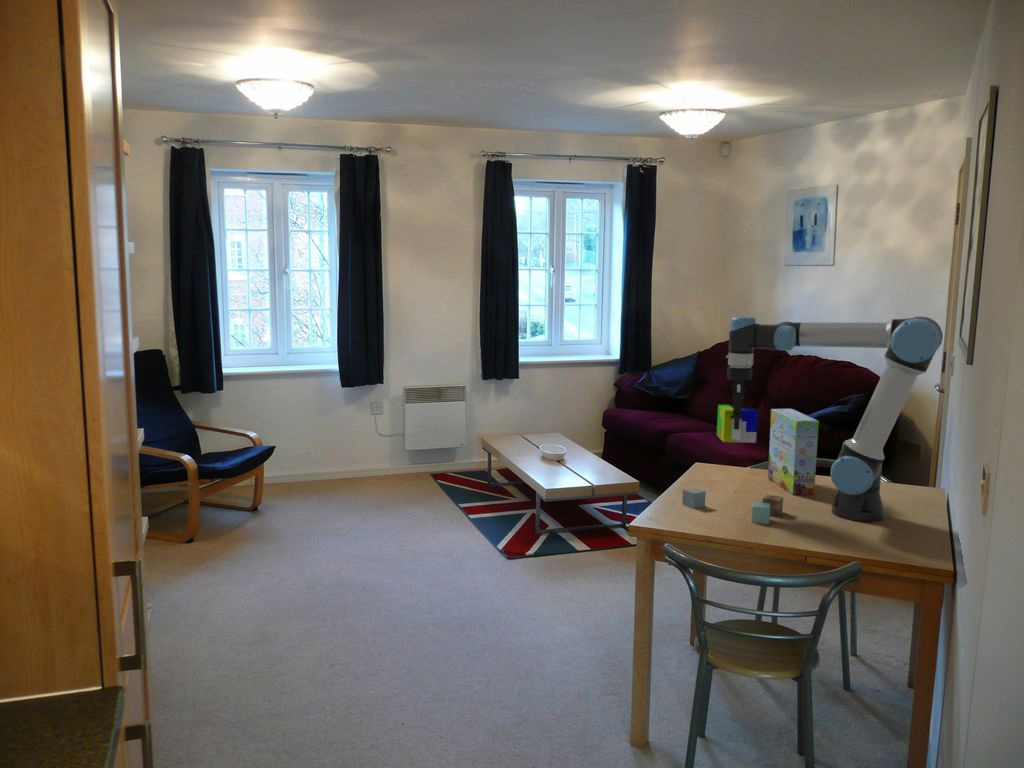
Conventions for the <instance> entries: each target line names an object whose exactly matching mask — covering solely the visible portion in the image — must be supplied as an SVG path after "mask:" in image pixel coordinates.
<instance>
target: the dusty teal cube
mask: <svg viewBox="0 0 1024 768" xmlns="http://www.w3.org/2000/svg"><path fill="white" fill-rule="evenodd" d="M770 516H771V515H770V503H763V502H755V501H753V502H752V510H751V523H753V524H754V523H755V524H764V525H769V524H770Z"/></svg>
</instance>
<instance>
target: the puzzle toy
mask: <svg viewBox="0 0 1024 768" xmlns="http://www.w3.org/2000/svg"><path fill="white" fill-rule="evenodd" d="M733 408H734V404H718V405H717V418H716V419H717V421H716V423H717V425H716V436H717V438H719V440H721V441H722V442H723V443H747V444H749V443H750V444H756V443H757V432H758V431H757V430H758V415H759V413H758V412H759V411H758V409H755V407H753V406H751V405H750V404H748V405H746V404H742V412H741V415H742V418H741V437H740V440H737V439H731V435H732V418H730V416H733Z"/></svg>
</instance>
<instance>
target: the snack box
mask: <svg viewBox="0 0 1024 768" xmlns="http://www.w3.org/2000/svg"><path fill="white" fill-rule="evenodd" d="M819 424H820V420H818V419H815V418H813V417H812V416H809V415H807V414H804V413H802V412H800V411H798V410H796V409H793V408H770V425H769V426H770V429H769V431H770V432H769V451H768V467H767V468H768V471H767V479H768V480H771V481H773V483H775V484H777V485H778V486H779V487H781V488H782V489H784V490H785V491H787V492H788V493H790V495H792V496H801V495H804V496H806V495H809V496H810V495H815V487H816V473H817V472H816V470H817V457H818V456H817V455H818V453H817V452H818V441H819V440H818V439H819V426H820V425H819Z"/></svg>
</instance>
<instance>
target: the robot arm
mask: <svg viewBox="0 0 1024 768" xmlns="http://www.w3.org/2000/svg"><path fill="white" fill-rule="evenodd" d="M728 333H729V334H728V335H729V336H728V354H727V355H726V356H725V358H726V359H727V364H728V367H727V368H726V369H727V370H726V378H727V379H728V380H732V381H733V380H734V383H732V387H731V389H732V399H733V405H734V408H733V416H730V418H732V435H731V439H737V440H740V437H741V418H742V415H741V412H742V405H743V400H744V399H745V392H746V384H744V381H751V379H752V378H753V368H752V366H754V350H755V349H758V350H759V349H760V350H761V349H762V350H771V351H773V350H774V351H780V352H782V351H792V350H793V349H794V348H795V347H812V348H813V347H816V348H817V347H819V348H820V347H822V348H862V349H863V348H864V349H865V348H866V349H868V348H871V349H872V348H873V349H875V348H877V349H879V348H880V349H886V352H885V353H884V360H885V361H886V366H885V367H884V369H883V372H882V374H881V375H880V376H881V377H880V379H879V381H878V383H877V385H876V387H875V389H874V391H873V393H872V396H871V398H870V400H869V402H868V404H867V407H866V408H865V411H864V413H863V415H862V417H861V419H860V421H859V424H858V426H857V428H856V430H855V433H854V435H853V437H852V438H849V439H847V440H844V441H843V443H842V447H841V449H840V452H839V453H838V456H837V459H835V461H834V462H833V463H832V465H831V466H830V467H831V468H830V473H829V474H830V479H831V481H832V482H831V483H833V485H834V486H835V488H837V489H838V490H837V492H836V493H835V497H834V499H833V501H832V504H831V513H833V514H834V515H835V516H838V517H840V518H844V519H847V520H851V521H860V522H876V521H877V522H878V521H881V520H883V519H884V516H885V508H884V504H883V500H882V497H881V483H882V482H881V480H882V468H883V462H884V461H885V458H886V457H885V454H884V448H885V445H886V442H887V441H888V438H889V437H890V434H891V432H892V430H893V428H894V426H895V424H896V422H897V420H898V418H899V415H900V413H901V411H902V409H903V407H904V405H905V403H906V401H907V399H908V396H909V395H910V393H911V391H912V388H913V387H914V384H915V381H916V379H918V378H917V377H918V376H920V375H922V374H925V373H927V370H928V369H929V367H930V364H931V362H932V360H933V358H934V357H935V354H936V352H937V350H939V348H940V346H941V345H942V343H943V338H944V337H943V331H942V328H941V327H940V324H938V322H936V321H935V320H934V319H932V318H929V317H927V316H915V317H914V316H913V317H910V318H899V319H898V318H897V319H895V318H894V319H891V320H890V321H888V322H792V321H782V322H779V323H776V324H761V323H760V324H759V323H757V321H756V318H755V317H754V316H733V317H731V319H730V325H729V330H728Z"/></svg>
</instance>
